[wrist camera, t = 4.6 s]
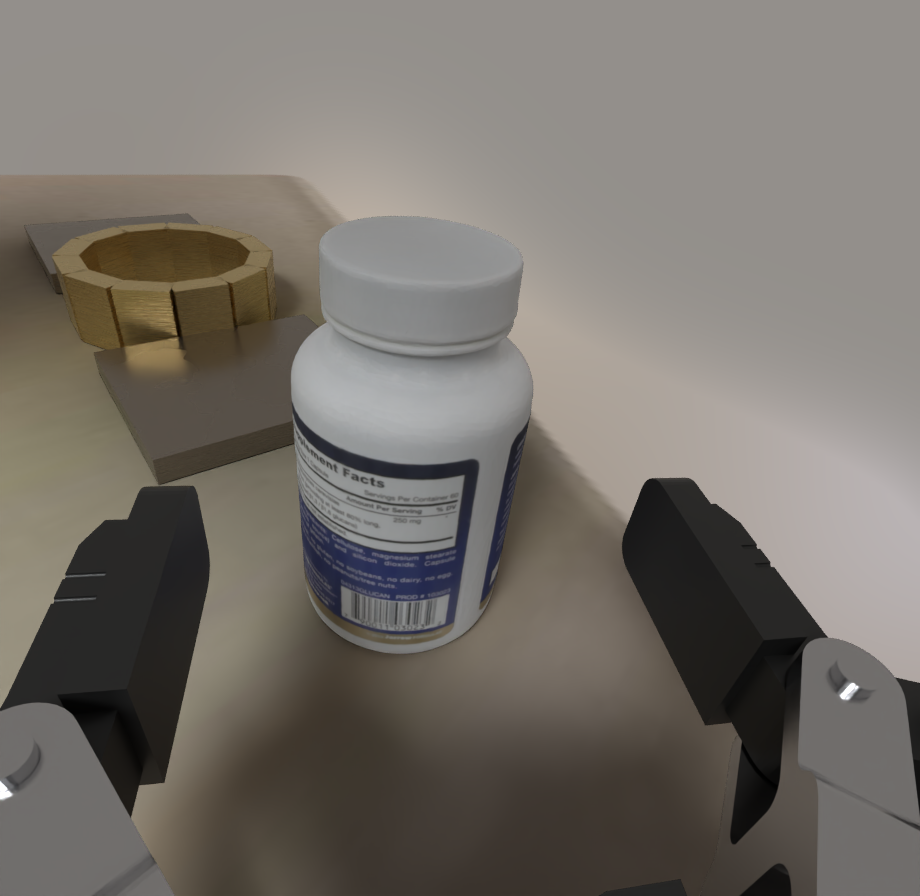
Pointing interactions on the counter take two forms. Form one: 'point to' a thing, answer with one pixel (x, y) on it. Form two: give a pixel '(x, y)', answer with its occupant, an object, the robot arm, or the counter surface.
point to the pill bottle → (409, 428)
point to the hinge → (180, 334)
